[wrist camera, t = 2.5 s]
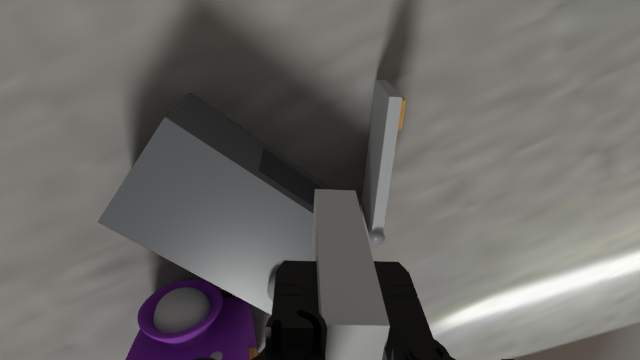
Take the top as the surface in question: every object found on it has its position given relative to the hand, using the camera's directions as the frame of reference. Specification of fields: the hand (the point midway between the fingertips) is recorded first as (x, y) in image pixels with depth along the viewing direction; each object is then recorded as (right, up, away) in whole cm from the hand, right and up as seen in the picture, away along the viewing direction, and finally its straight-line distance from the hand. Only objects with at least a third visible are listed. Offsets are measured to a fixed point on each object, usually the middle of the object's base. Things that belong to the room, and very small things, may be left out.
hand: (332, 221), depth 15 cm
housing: (-6, 0, +18) cm, 19 cm away
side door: (+4, +4, +16) cm, 17 cm away
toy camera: (-12, -11, +23) cm, 28 cm away
